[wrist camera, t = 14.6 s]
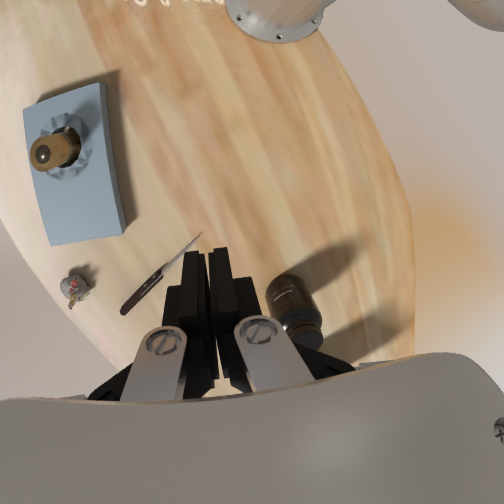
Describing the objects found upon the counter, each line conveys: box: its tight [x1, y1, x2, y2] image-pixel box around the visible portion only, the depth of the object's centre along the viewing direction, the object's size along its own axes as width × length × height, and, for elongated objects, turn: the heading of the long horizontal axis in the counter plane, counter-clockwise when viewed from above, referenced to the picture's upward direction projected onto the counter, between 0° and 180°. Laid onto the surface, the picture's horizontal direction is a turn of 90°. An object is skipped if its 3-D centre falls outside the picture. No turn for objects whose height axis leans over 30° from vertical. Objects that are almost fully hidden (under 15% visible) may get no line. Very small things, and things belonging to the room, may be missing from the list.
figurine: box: [60, 274, 90, 309], centre depth 37 cm, size 5×4×6 cm
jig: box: [23, 82, 127, 246], centre depth 31 cm, size 20×12×2 cm, turn 3°
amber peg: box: [30, 130, 82, 172], centre depth 27 cm, size 4×4×8 cm
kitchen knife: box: [120, 237, 199, 316], centre depth 40 cm, size 18×1×2 cm, turn 131°
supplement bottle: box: [265, 275, 323, 351], centre depth 41 cm, size 7×7×12 cm
